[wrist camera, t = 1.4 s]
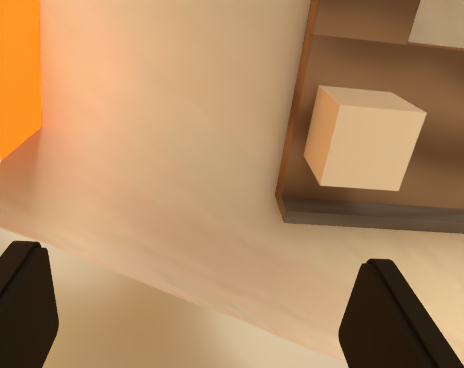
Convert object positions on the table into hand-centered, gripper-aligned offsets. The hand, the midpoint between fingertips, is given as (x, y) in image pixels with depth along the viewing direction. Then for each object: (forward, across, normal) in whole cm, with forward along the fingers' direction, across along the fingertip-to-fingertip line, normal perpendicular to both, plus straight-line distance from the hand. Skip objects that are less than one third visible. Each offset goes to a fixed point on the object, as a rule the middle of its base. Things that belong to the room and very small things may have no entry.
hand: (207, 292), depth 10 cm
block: (+16, -10, 0) cm, 19 cm away
